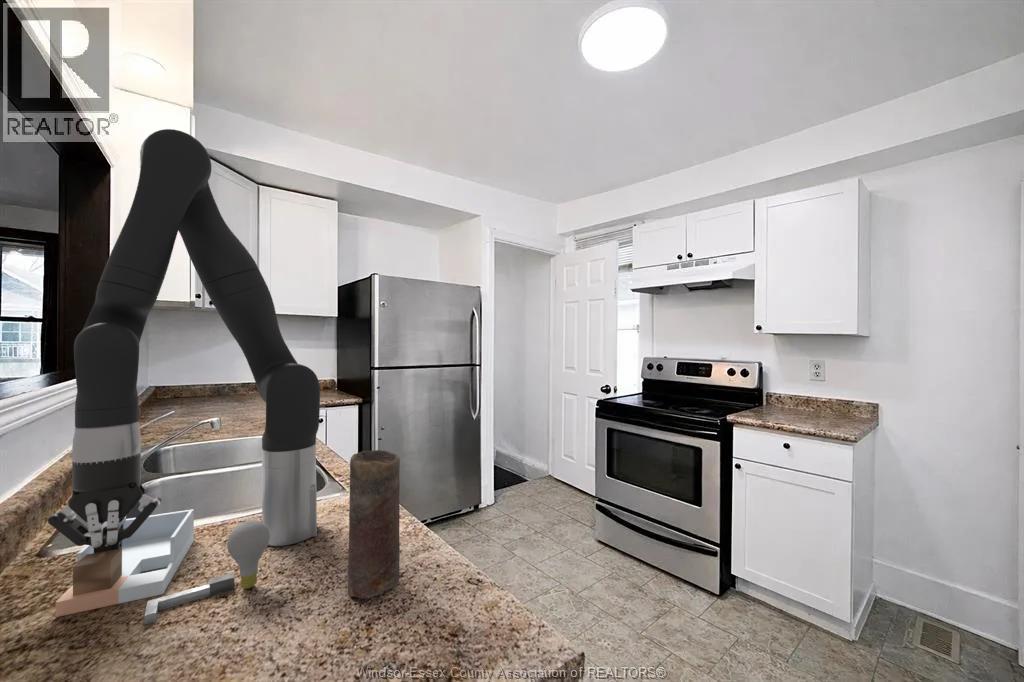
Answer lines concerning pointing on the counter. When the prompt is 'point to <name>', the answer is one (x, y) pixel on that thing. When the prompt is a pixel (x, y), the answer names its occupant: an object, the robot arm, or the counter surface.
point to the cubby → (139, 563)
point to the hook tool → (188, 596)
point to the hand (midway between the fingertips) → (107, 567)
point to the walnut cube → (97, 571)
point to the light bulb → (248, 549)
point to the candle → (373, 523)
